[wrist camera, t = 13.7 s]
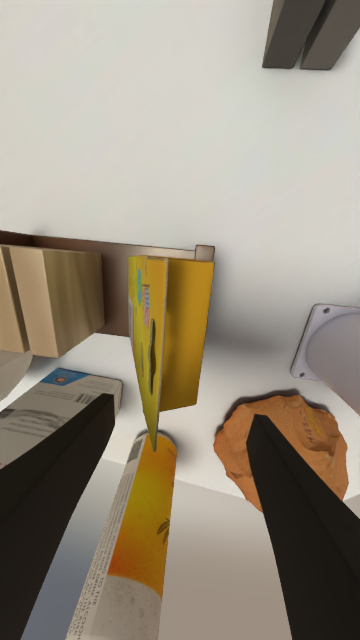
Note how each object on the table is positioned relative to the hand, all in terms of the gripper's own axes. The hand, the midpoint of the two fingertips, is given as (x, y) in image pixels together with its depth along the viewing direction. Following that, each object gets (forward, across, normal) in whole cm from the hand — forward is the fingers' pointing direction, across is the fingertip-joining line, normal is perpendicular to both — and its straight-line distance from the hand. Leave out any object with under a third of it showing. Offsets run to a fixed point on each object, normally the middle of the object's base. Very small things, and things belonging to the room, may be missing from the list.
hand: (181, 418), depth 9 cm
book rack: (+10, +8, -4) cm, 14 cm away
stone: (+12, -12, +14) cm, 21 cm away
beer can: (+11, +3, +17) cm, 20 cm away
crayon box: (+9, +4, -4) cm, 11 cm away
